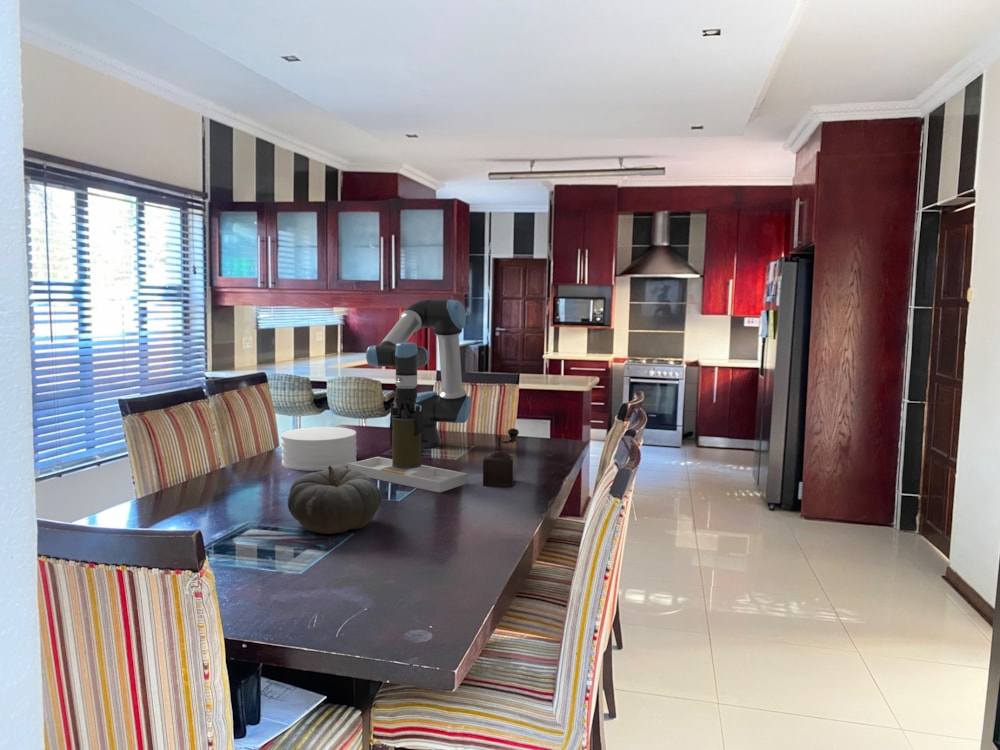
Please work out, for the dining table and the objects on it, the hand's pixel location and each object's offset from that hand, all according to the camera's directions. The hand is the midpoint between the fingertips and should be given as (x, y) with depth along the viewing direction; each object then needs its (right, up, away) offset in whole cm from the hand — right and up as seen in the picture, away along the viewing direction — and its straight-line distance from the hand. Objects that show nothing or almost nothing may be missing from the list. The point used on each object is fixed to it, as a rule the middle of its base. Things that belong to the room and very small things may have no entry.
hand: (406, 451), depth 245 cm
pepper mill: (+33, -10, -2) cm, 35 cm away
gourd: (-12, -15, -53) cm, 56 cm away
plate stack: (-37, -7, +24) cm, 45 cm away
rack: (0, -9, +1) cm, 9 cm away
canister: (0, -5, 0) cm, 5 cm away
